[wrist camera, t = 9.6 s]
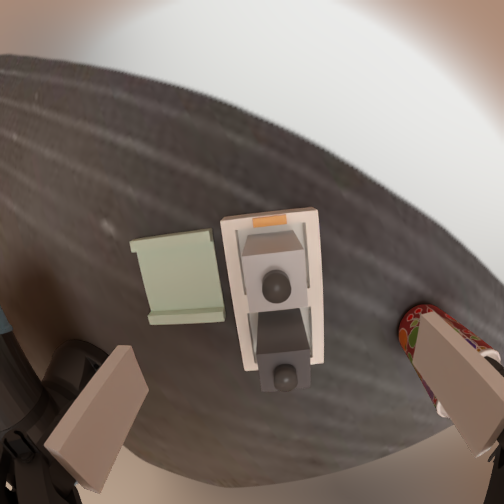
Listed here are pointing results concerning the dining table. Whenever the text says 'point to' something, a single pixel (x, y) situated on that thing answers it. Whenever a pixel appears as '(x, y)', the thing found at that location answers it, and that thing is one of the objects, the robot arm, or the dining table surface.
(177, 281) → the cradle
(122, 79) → the dining table surface
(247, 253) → the plug
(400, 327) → the smoothie
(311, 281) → the cream rectangular tray
